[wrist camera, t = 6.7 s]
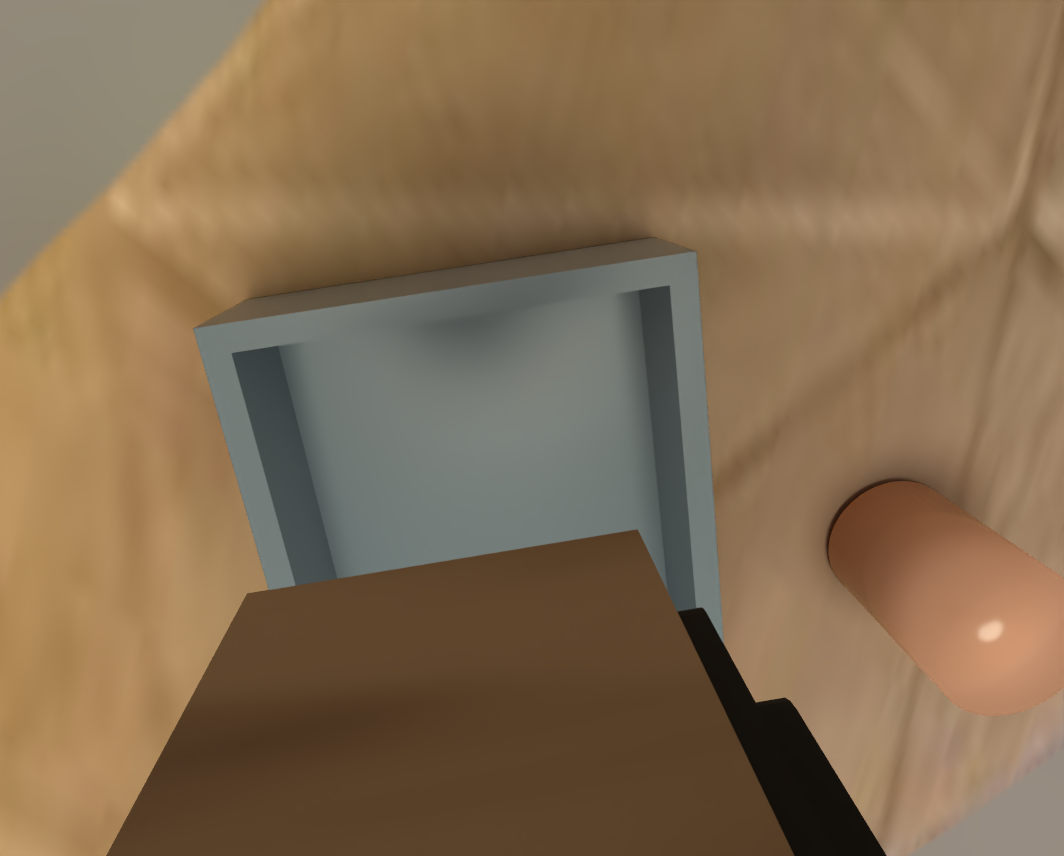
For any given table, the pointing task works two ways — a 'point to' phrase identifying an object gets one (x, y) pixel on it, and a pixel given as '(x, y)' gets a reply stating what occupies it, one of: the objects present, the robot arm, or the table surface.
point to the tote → (474, 415)
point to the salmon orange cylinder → (954, 597)
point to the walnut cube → (459, 721)
